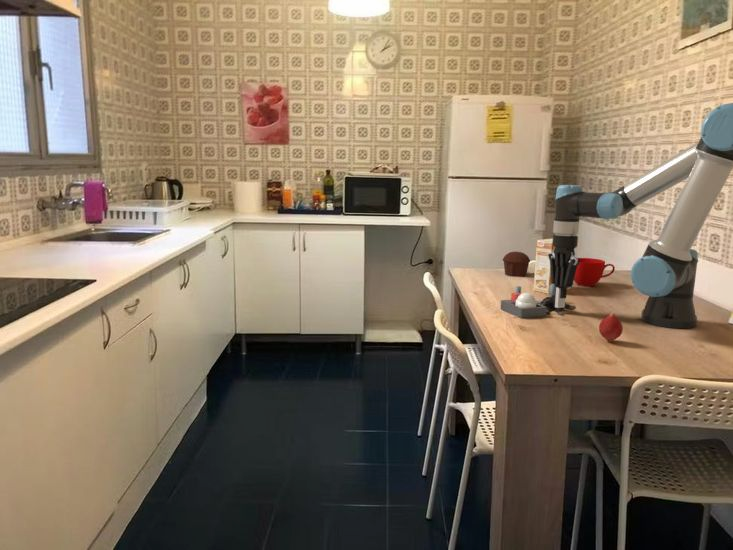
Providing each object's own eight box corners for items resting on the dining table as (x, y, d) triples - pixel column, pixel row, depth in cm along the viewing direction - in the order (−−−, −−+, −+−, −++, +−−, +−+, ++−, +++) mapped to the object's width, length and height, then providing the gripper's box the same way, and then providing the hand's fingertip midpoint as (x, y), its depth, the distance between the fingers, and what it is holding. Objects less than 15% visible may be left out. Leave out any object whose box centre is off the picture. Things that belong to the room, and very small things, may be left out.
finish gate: (556, 302, 203) (557, 285, 202) (517, 305, 198) (518, 287, 197) (552, 300, 205) (553, 283, 204) (513, 303, 200) (514, 286, 199)
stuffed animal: (534, 310, 187) (540, 284, 195) (536, 330, 194) (542, 304, 201) (573, 314, 182) (578, 287, 190) (573, 334, 189) (578, 307, 196)
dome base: (545, 316, 183) (547, 299, 182) (520, 318, 181) (522, 301, 180) (524, 307, 194) (525, 291, 193) (500, 309, 192) (501, 293, 191)
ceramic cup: (617, 289, 226) (619, 263, 224) (571, 287, 228) (573, 262, 227) (608, 283, 238) (611, 258, 237) (565, 281, 241) (567, 257, 239)
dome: (539, 313, 184) (541, 294, 183) (522, 315, 182) (523, 295, 181) (528, 309, 190) (529, 290, 189) (511, 310, 188) (512, 291, 187)
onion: (594, 341, 157) (596, 312, 156) (603, 337, 161) (606, 309, 160) (615, 346, 153) (618, 316, 152) (624, 342, 157) (627, 313, 156)
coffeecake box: (548, 294, 216) (552, 241, 212) (532, 290, 221) (535, 239, 218) (571, 289, 225) (575, 238, 222) (554, 286, 231) (558, 237, 227)
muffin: (532, 274, 255) (534, 251, 253) (524, 278, 246) (526, 254, 244) (506, 271, 261) (507, 249, 260) (497, 275, 252) (499, 252, 250)
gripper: (589, 236, 179) (582, 311, 183) (562, 231, 191) (557, 302, 196) (568, 237, 177) (562, 312, 181) (543, 232, 189) (537, 303, 193)
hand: (559, 307), depth 188 cm, fingers closed
